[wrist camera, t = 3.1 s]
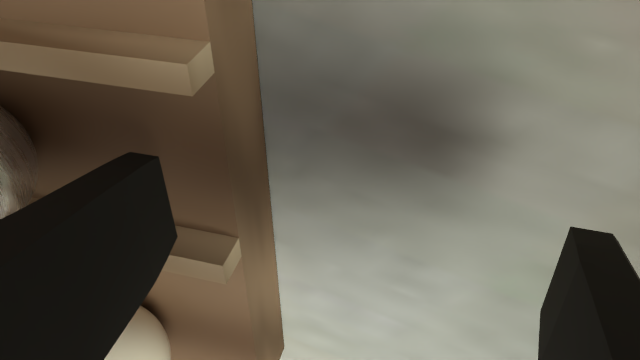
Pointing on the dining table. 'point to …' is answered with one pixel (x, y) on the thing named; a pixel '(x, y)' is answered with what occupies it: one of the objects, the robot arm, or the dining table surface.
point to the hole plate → (161, 145)
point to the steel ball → (15, 165)
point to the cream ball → (142, 339)
